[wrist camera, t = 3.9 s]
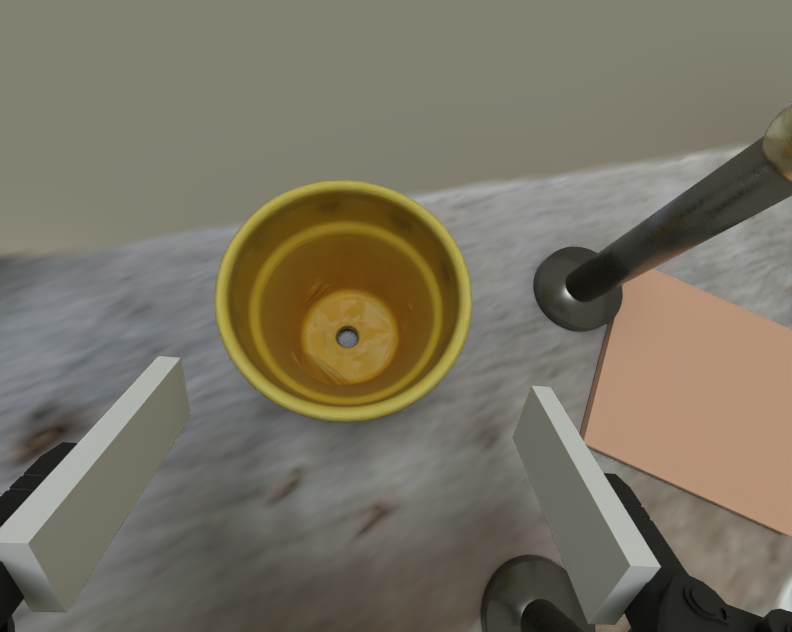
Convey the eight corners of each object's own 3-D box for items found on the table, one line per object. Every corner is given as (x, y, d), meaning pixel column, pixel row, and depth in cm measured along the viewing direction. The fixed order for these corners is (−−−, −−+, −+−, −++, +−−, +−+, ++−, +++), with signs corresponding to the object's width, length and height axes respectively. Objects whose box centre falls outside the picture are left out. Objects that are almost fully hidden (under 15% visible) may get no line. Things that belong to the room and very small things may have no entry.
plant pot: (291, 448, 22) (246, 465, 13) (249, 290, 25) (186, 207, 15) (451, 391, 24) (514, 369, 15) (398, 250, 27) (423, 154, 17)
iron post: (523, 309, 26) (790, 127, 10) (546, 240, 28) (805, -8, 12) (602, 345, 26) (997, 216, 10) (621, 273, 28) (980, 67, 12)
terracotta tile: (577, 442, 24) (583, 443, 24) (623, 261, 28) (629, 258, 28) (780, 533, 24) (791, 536, 23) (796, 338, 28) (806, 336, 28)
